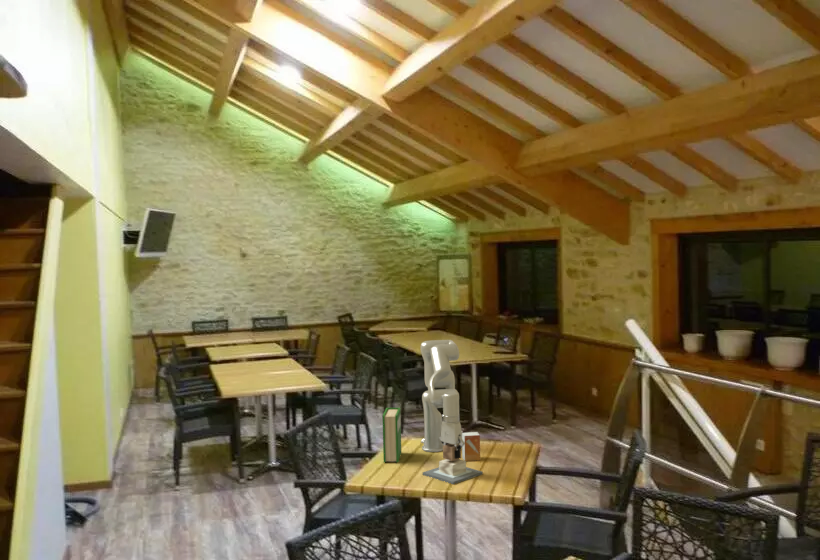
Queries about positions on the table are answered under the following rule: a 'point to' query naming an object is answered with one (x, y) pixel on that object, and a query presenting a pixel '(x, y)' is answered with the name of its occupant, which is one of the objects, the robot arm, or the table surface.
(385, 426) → the hardback book
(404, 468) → the table surface
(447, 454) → the walnut cube
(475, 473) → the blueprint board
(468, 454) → the small box
